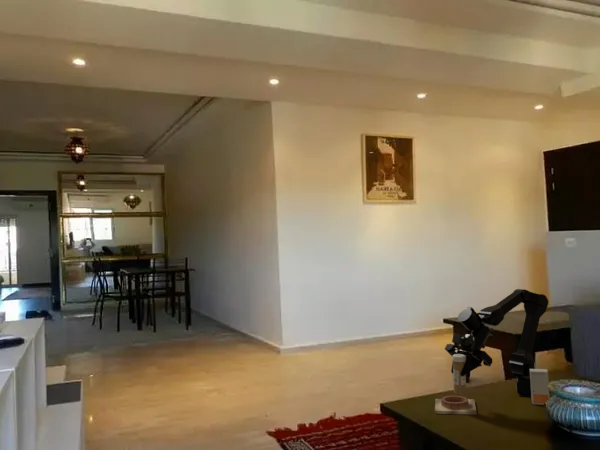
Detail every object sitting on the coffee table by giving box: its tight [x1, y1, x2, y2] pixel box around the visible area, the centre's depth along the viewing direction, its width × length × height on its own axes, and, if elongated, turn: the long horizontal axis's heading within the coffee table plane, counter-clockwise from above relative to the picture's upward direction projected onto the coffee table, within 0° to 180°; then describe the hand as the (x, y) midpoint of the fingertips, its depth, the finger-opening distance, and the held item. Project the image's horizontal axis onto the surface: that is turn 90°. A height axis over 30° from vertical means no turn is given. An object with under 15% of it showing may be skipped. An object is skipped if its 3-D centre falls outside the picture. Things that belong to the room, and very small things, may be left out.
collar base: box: [434, 395, 478, 415], centre depth 191 cm, size 14×14×3 cm
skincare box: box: [530, 368, 551, 406], centre depth 190 cm, size 6×4×12 cm
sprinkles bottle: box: [452, 354, 467, 395], centre depth 187 cm, size 5×5×14 cm
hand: (456, 374), depth 187 cm, fingers closed on sprinkles bottle, 4 cm apart
